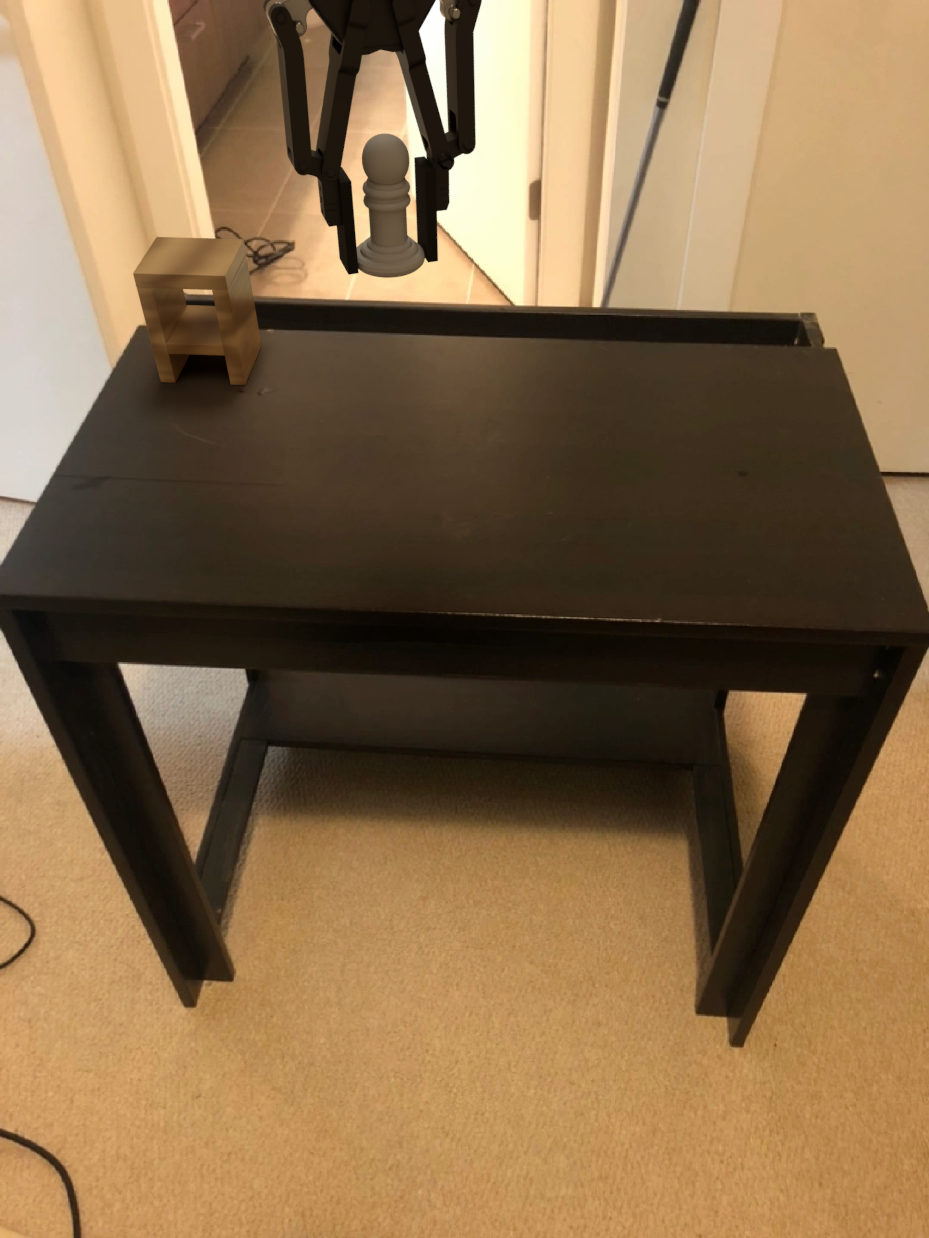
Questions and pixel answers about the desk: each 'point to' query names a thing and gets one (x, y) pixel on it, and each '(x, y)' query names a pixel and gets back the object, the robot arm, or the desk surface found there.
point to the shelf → (192, 325)
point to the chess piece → (387, 210)
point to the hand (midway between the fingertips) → (388, 259)
